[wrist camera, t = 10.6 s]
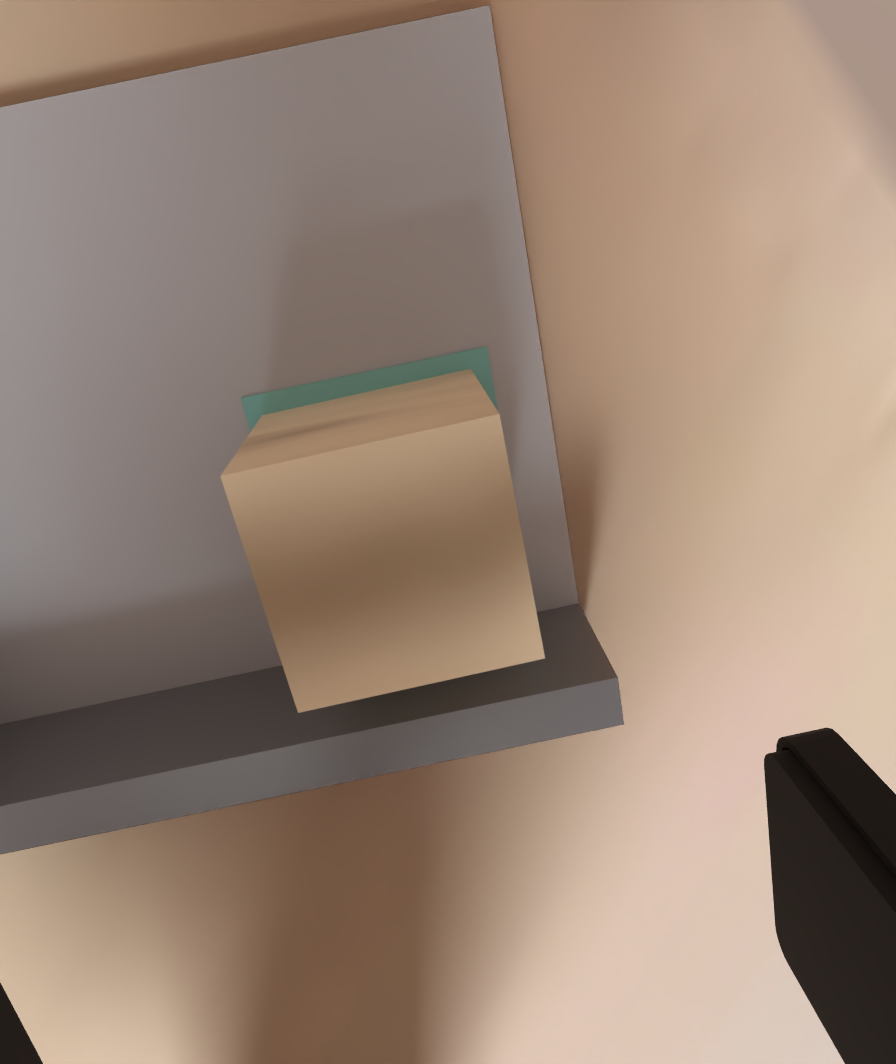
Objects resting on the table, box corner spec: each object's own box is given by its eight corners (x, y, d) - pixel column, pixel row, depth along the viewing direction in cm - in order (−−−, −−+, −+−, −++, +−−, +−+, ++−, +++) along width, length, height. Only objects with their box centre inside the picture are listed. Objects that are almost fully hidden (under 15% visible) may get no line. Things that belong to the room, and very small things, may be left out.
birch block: (508, 560, 24) (545, 658, 19) (318, 603, 24) (297, 712, 19) (470, 368, 22) (499, 414, 17) (262, 415, 22) (220, 476, 17)
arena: (581, 636, 26) (624, 724, 21) (-40, 766, 26) (-133, 881, 21) (486, 10, 20) (518, -60, 15) (-339, 183, 20) (-565, 166, 15)
